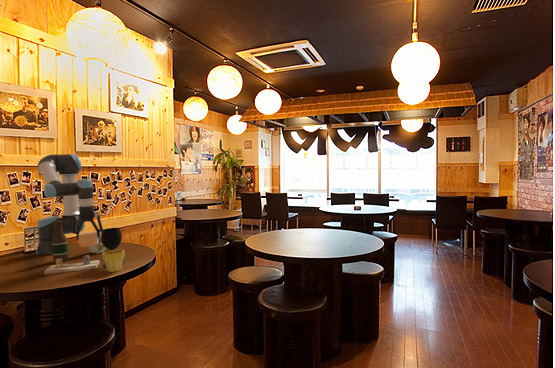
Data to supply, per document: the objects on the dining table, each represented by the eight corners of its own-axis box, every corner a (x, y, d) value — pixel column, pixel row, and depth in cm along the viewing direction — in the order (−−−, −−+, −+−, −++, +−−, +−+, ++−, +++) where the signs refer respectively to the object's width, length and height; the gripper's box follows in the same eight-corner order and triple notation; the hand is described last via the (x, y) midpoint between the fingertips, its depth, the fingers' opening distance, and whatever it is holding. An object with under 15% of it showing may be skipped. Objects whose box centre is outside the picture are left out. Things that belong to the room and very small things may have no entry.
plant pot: (119, 265, 185) (118, 248, 185) (129, 269, 179) (127, 250, 178) (100, 270, 178) (98, 252, 177) (109, 274, 171) (107, 255, 170)
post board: (51, 268, 186) (50, 257, 185) (99, 262, 194) (99, 252, 193) (44, 274, 174) (43, 263, 174) (96, 268, 182) (95, 257, 182)
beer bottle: (61, 262, 197) (58, 222, 195) (50, 262, 198) (46, 222, 197) (71, 259, 204) (69, 219, 203) (61, 258, 206) (58, 219, 204)
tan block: (82, 243, 201) (82, 232, 200) (97, 242, 203) (97, 230, 203) (79, 246, 193) (79, 234, 193) (95, 245, 196) (94, 233, 195)
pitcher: (117, 250, 223) (116, 229, 222) (88, 256, 209) (86, 234, 209) (111, 247, 230) (109, 227, 229) (82, 253, 217) (80, 232, 216)
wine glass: (127, 262, 192) (125, 227, 191) (113, 267, 182) (110, 231, 181) (113, 261, 195) (111, 227, 194) (98, 266, 186) (96, 230, 184)
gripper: (64, 207, 189) (67, 247, 191) (105, 205, 196) (107, 243, 198) (67, 206, 197) (70, 244, 198) (107, 203, 203) (109, 240, 205)
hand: (89, 244), depth 198 cm, fingers closed on tan block, 8 cm apart
